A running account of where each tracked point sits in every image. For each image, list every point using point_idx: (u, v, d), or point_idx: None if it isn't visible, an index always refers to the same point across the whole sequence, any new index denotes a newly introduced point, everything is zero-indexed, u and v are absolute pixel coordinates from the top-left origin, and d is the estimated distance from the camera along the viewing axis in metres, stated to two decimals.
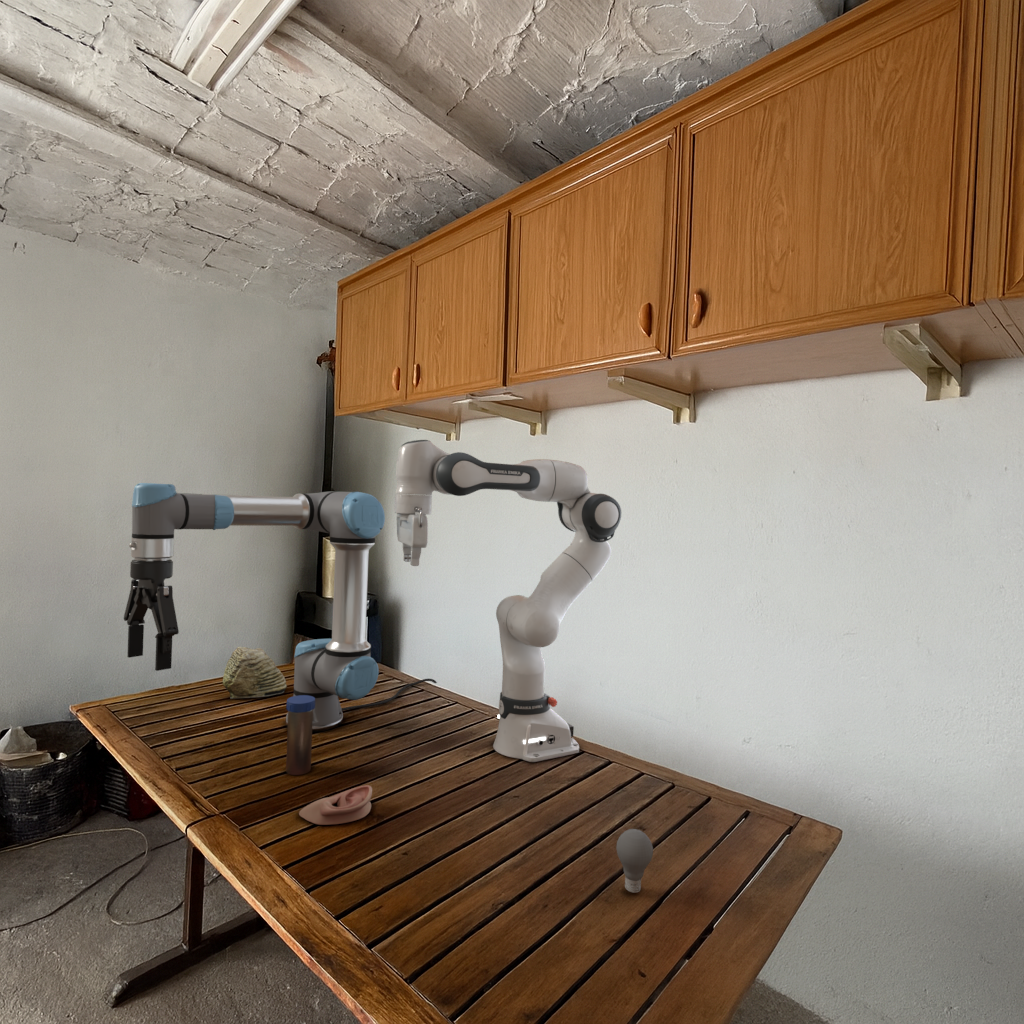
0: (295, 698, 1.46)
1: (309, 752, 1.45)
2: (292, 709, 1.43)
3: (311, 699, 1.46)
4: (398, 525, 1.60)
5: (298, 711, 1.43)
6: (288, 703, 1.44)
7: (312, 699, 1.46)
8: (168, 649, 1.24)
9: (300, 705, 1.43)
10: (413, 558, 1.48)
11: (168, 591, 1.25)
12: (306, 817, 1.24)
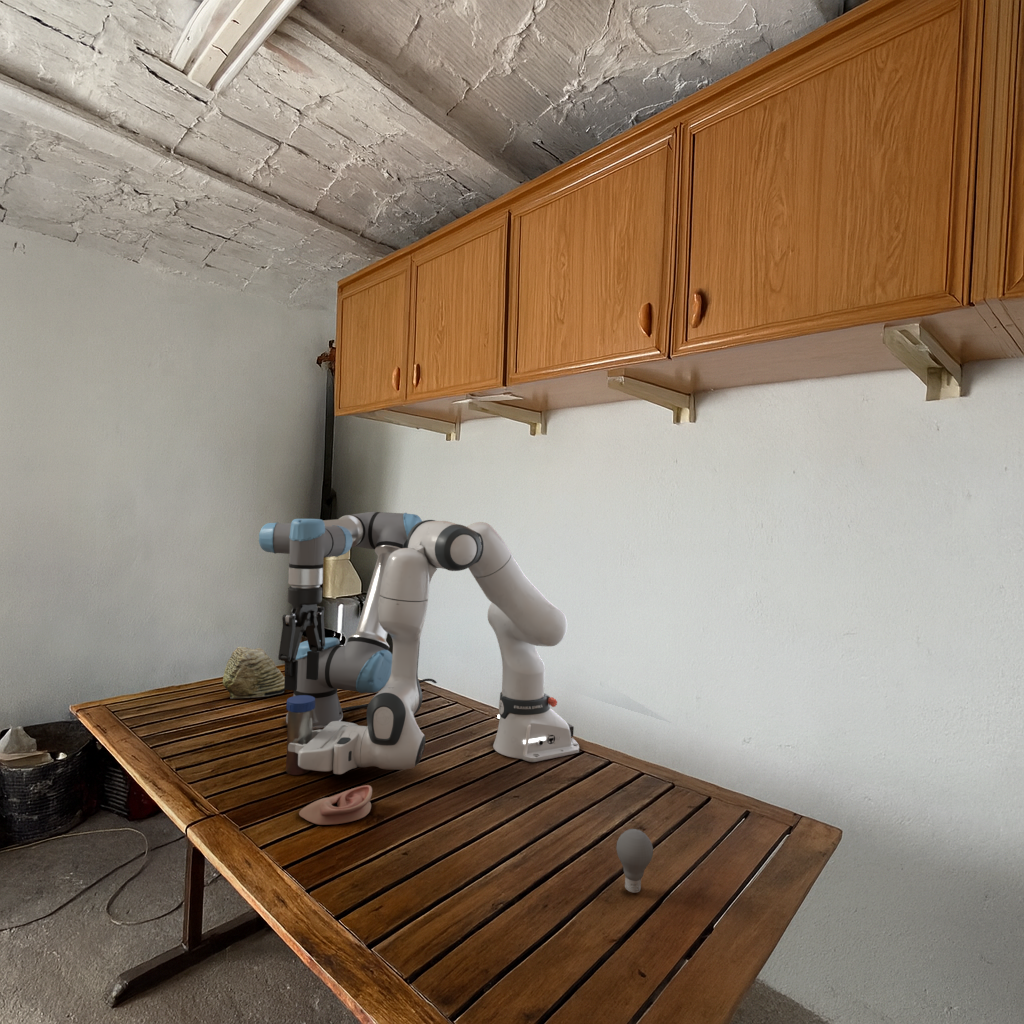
0: (295, 698, 1.46)
1: None
2: (292, 709, 1.43)
3: (311, 699, 1.46)
4: None
5: (298, 711, 1.43)
6: (288, 703, 1.44)
7: (312, 699, 1.46)
8: (288, 672, 1.40)
9: (300, 704, 1.43)
10: None
11: (289, 621, 1.39)
12: (306, 817, 1.24)
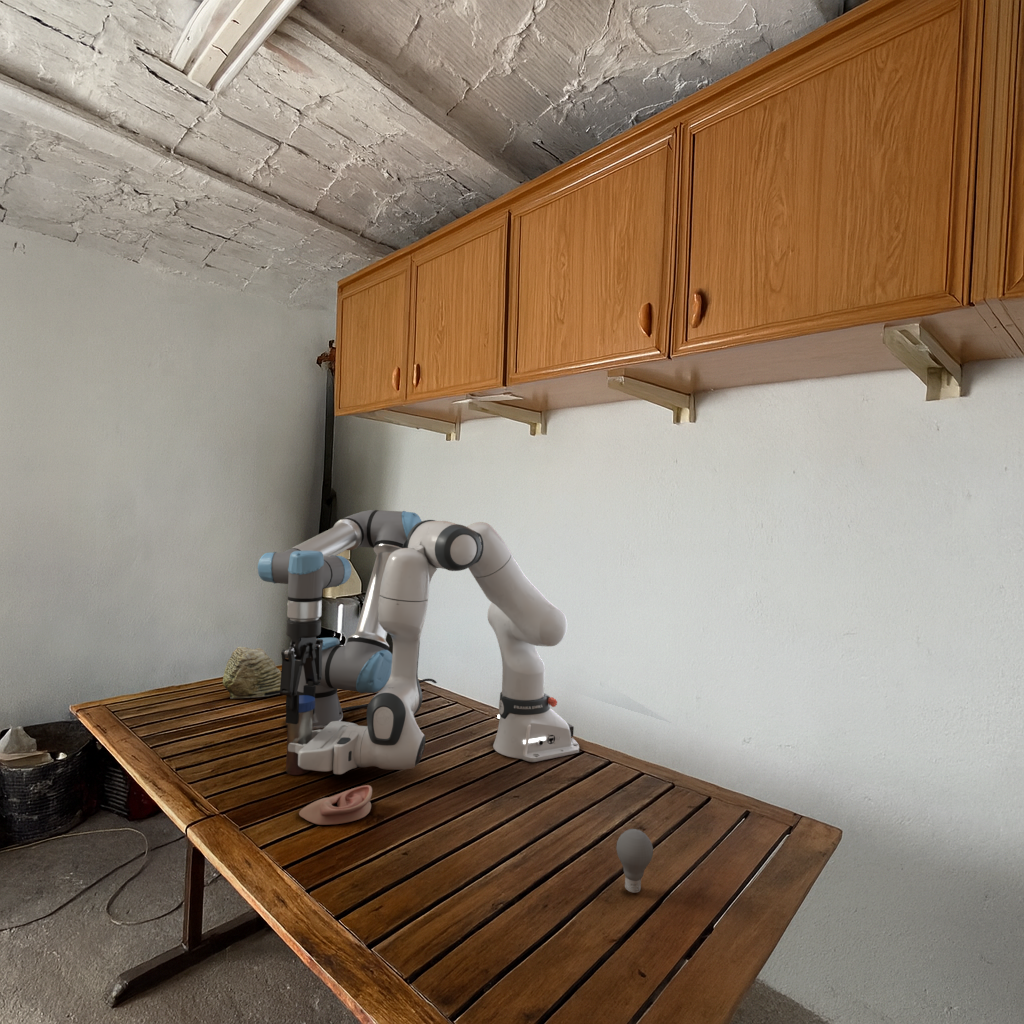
0: None
1: None
2: None
3: (311, 699, 1.46)
4: None
5: None
6: None
7: (312, 699, 1.46)
8: (289, 706, 1.41)
9: (300, 704, 1.43)
10: None
11: (288, 656, 1.39)
12: (306, 817, 1.24)
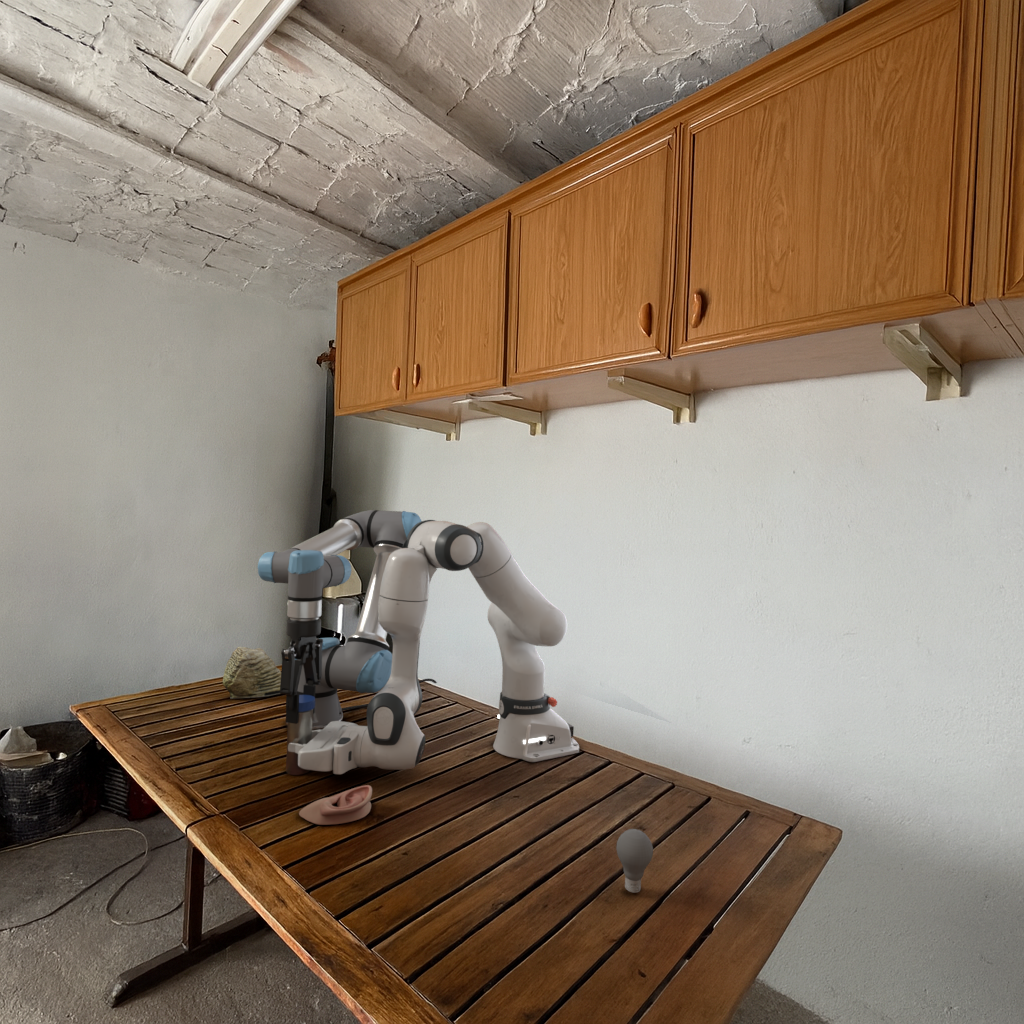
0: None
1: None
2: (312, 706, 1.45)
3: (303, 695, 1.48)
4: None
5: (314, 706, 1.46)
6: (307, 703, 1.44)
7: (303, 695, 1.48)
8: (289, 706, 1.41)
9: (314, 699, 1.47)
10: None
11: (288, 656, 1.39)
12: (306, 817, 1.24)
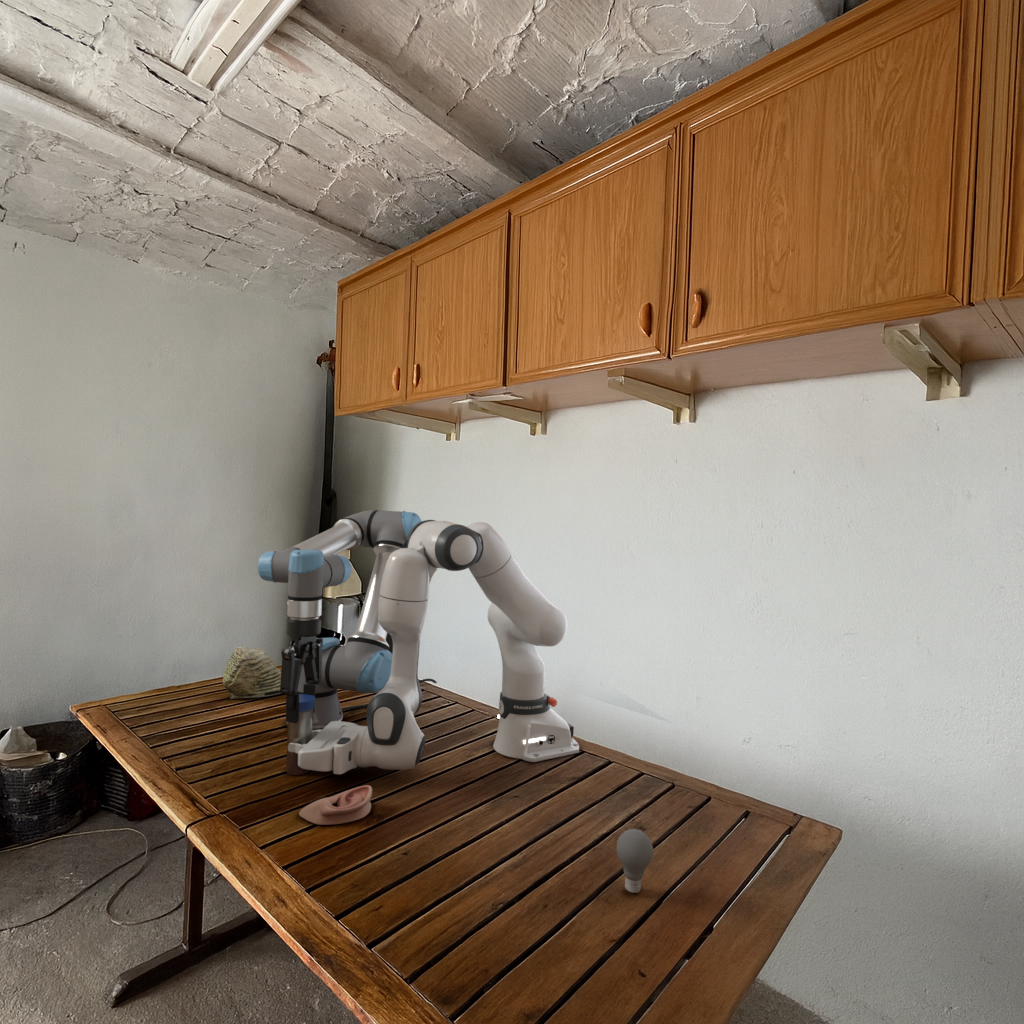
0: (306, 699, 1.45)
1: None
2: None
3: None
4: None
5: None
6: None
7: None
8: (289, 705, 1.41)
9: None
10: None
11: (288, 655, 1.39)
12: (306, 817, 1.24)
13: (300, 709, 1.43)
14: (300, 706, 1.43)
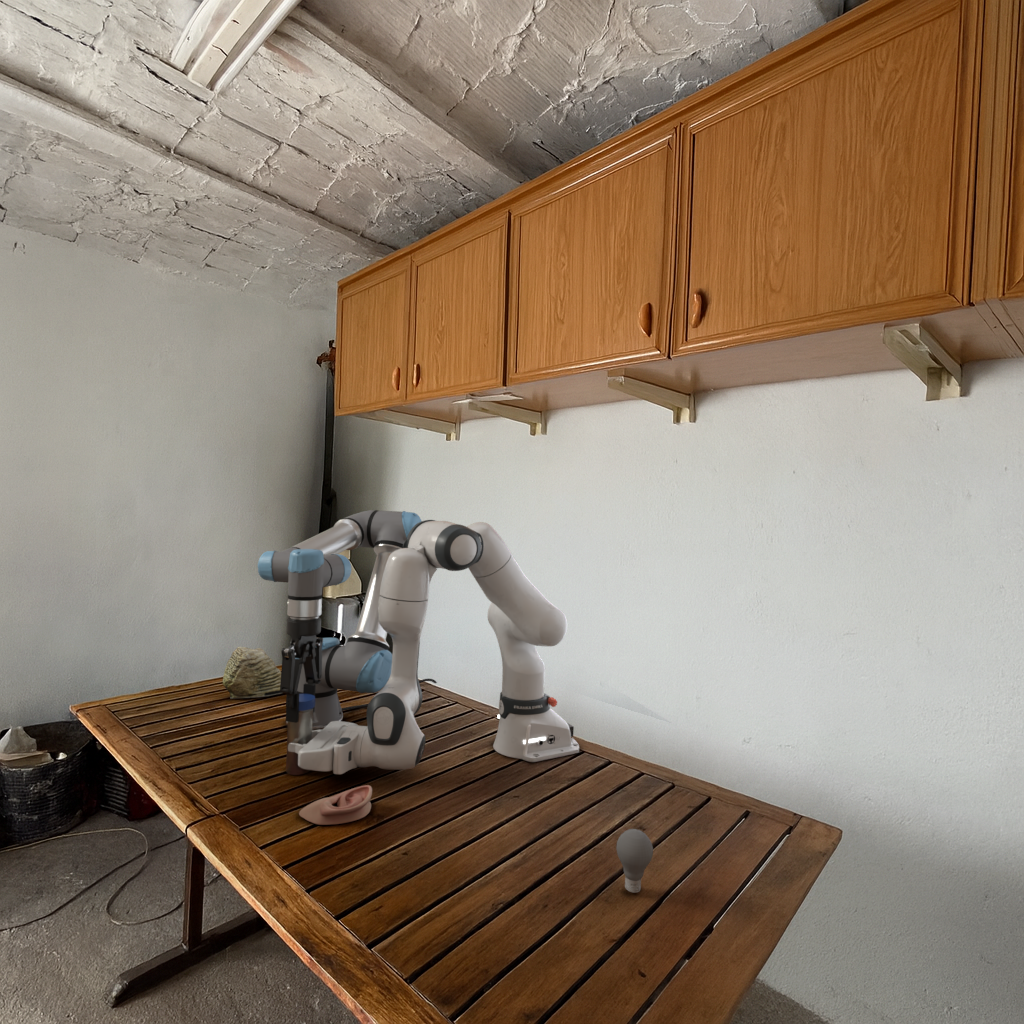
0: (305, 695, 1.47)
1: None
2: None
3: None
4: None
5: None
6: None
7: None
8: (289, 705, 1.41)
9: None
10: None
11: (288, 654, 1.39)
12: (306, 817, 1.24)
13: (314, 703, 1.47)
14: (314, 701, 1.47)
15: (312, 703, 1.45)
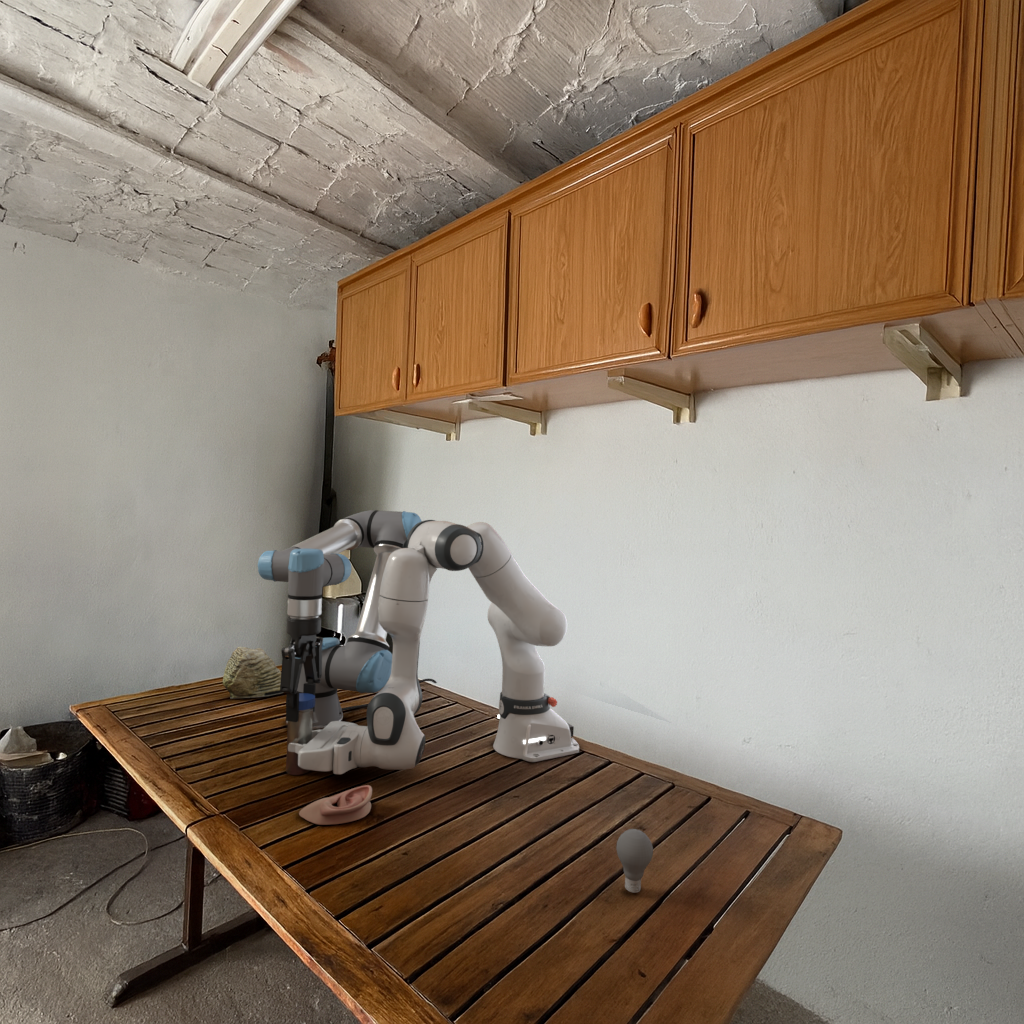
0: None
1: None
2: None
3: (311, 697, 1.46)
4: None
5: None
6: None
7: (312, 697, 1.46)
8: (289, 704, 1.41)
9: (300, 702, 1.43)
10: None
11: (288, 654, 1.39)
12: (306, 817, 1.24)
13: None
14: None
15: None
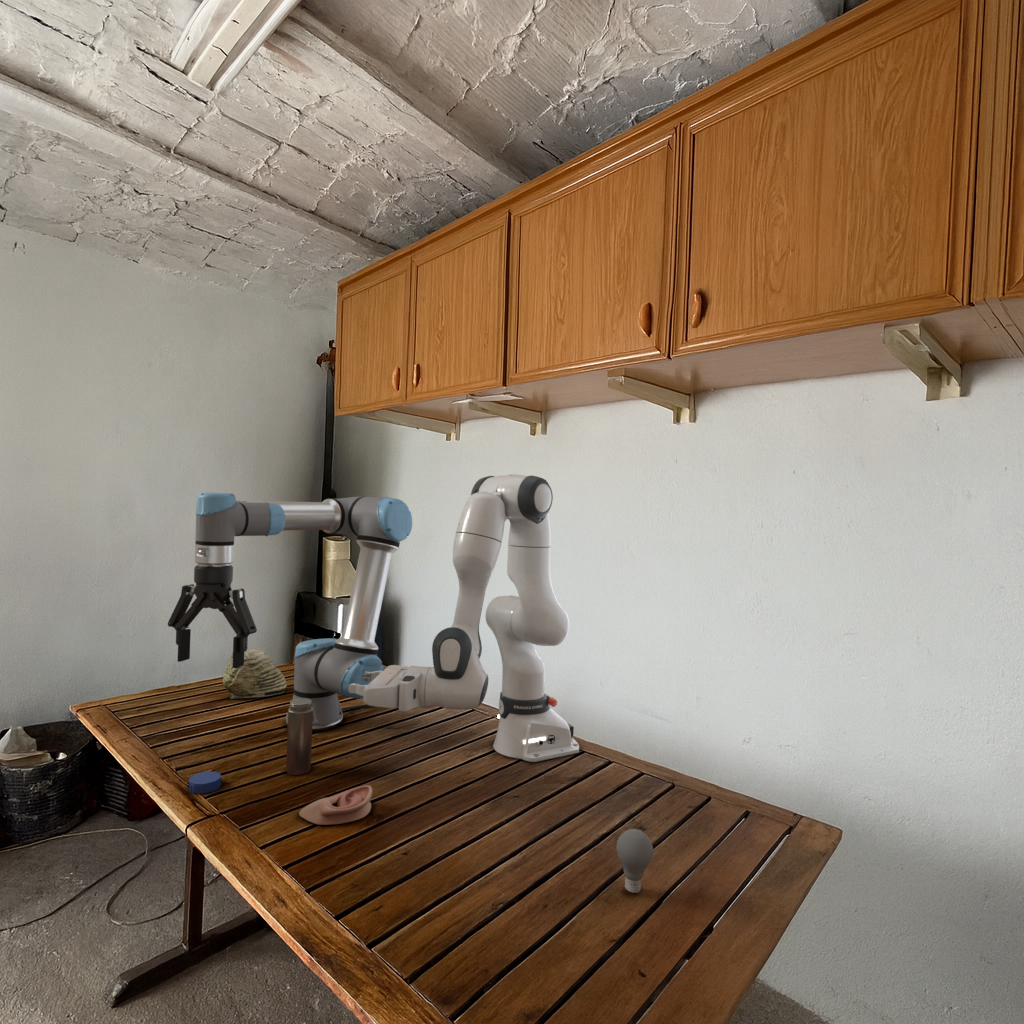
0: (199, 780, 1.34)
1: (309, 752, 1.45)
2: (216, 786, 1.35)
3: (209, 772, 1.38)
4: None
5: None
6: (210, 784, 1.34)
7: (210, 772, 1.38)
8: (245, 647, 1.34)
9: (220, 778, 1.37)
10: None
11: (242, 594, 1.34)
12: (306, 817, 1.24)
13: None
14: None
15: None
